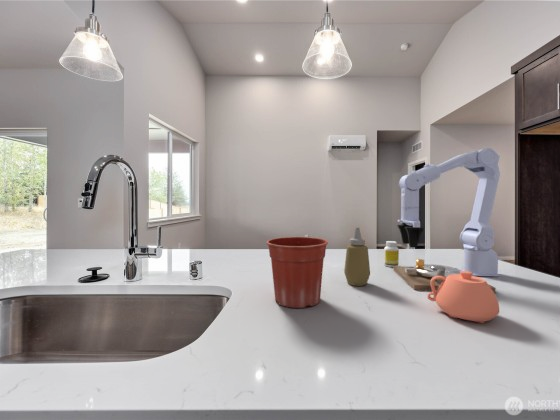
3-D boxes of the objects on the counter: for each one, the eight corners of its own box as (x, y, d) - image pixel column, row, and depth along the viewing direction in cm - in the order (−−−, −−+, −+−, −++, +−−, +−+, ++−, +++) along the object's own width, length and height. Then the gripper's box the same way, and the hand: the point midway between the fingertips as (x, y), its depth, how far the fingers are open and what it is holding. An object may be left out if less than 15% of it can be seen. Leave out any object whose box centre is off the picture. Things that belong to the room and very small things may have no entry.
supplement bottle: (400, 267, 106) (401, 242, 105) (386, 267, 106) (387, 242, 105) (395, 264, 111) (395, 240, 111) (381, 264, 111) (382, 240, 111)
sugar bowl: (503, 332, 55) (505, 283, 54) (425, 317, 62) (426, 273, 62) (494, 311, 65) (495, 269, 65) (428, 299, 72) (429, 262, 72)
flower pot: (258, 294, 77) (258, 238, 76) (308, 286, 84) (308, 235, 83) (281, 317, 62) (281, 248, 61) (340, 306, 68) (341, 243, 68)
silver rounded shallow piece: (449, 268, 95) (450, 256, 95) (472, 280, 81) (472, 266, 81) (399, 266, 98) (399, 255, 97) (413, 278, 84) (413, 264, 84)
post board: (456, 272, 99) (456, 257, 99) (495, 293, 77) (496, 274, 77) (393, 270, 102) (393, 255, 102) (414, 289, 80) (414, 271, 80)
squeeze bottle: (371, 281, 88) (372, 226, 87) (368, 289, 81) (369, 229, 80) (346, 278, 92) (346, 226, 91) (341, 285, 84) (341, 228, 83)
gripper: (392, 207, 104) (392, 241, 105) (404, 208, 90) (404, 248, 90) (412, 207, 103) (411, 242, 104) (427, 208, 89) (426, 249, 89)
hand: (409, 245), depth 97 cm, fingers open, 7 cm apart
